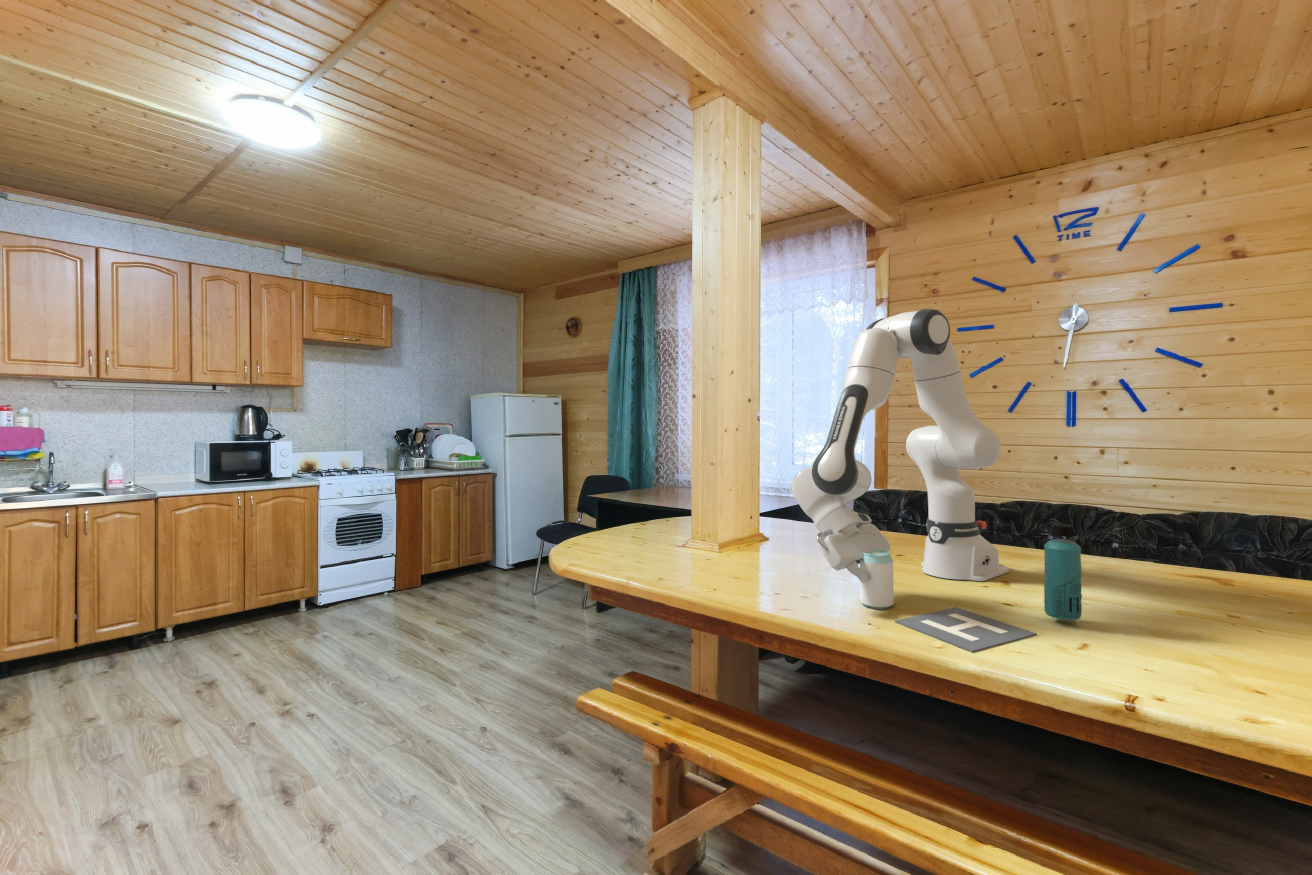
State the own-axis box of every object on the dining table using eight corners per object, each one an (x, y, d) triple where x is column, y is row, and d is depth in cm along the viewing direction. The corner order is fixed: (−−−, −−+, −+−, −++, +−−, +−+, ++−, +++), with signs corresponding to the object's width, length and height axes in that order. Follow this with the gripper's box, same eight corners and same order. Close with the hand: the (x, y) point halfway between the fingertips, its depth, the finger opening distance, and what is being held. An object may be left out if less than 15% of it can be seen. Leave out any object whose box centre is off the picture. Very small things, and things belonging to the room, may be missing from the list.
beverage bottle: (1070, 630, 119) (1071, 528, 118) (1036, 620, 125) (1036, 523, 124) (1089, 624, 122) (1089, 524, 121) (1054, 614, 128) (1055, 520, 127)
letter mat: (955, 608, 133) (955, 606, 133) (1036, 634, 117) (1036, 632, 117) (894, 621, 126) (894, 620, 126) (972, 652, 109) (972, 650, 109)
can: (896, 610, 133) (895, 556, 132) (862, 609, 134) (861, 555, 134) (890, 600, 140) (890, 548, 139) (858, 599, 141) (857, 548, 141)
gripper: (821, 525, 135) (861, 577, 128) (871, 513, 148) (910, 560, 141) (805, 542, 139) (843, 594, 131) (855, 529, 152) (892, 575, 144)
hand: (878, 576), depth 136 cm, fingers open, 8 cm apart
